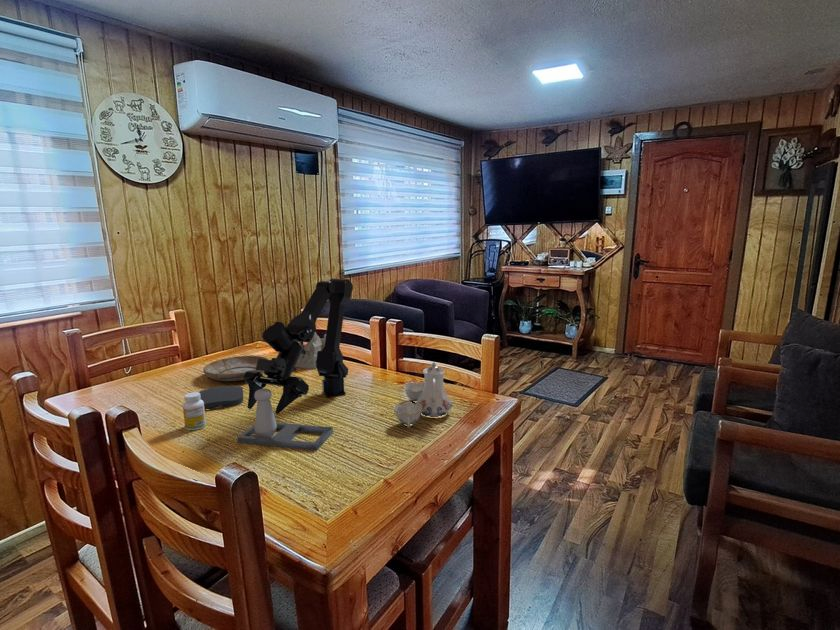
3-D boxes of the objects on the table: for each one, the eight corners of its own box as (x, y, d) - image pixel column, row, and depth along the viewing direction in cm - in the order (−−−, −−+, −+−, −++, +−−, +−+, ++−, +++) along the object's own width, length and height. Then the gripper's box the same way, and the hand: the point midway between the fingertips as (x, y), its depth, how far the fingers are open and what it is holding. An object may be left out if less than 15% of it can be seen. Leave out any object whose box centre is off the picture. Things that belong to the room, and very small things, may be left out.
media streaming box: (197, 396, 152) (196, 388, 151) (243, 391, 157) (243, 382, 156) (192, 413, 138) (191, 404, 138) (243, 406, 143) (242, 397, 143)
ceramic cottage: (342, 361, 188) (338, 327, 185) (309, 372, 176) (304, 335, 174) (321, 357, 199) (316, 324, 196) (288, 367, 187) (283, 332, 184)
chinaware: (402, 400, 151) (396, 352, 148) (451, 395, 150) (446, 347, 147) (394, 439, 123) (386, 381, 120) (455, 433, 122) (448, 375, 119)
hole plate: (237, 442, 118) (237, 437, 118) (259, 425, 128) (259, 420, 128) (316, 450, 114) (316, 445, 113) (332, 432, 124) (332, 427, 123)
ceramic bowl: (247, 363, 188) (246, 351, 187) (282, 373, 174) (281, 361, 173) (192, 378, 170) (190, 365, 169) (227, 391, 156) (226, 377, 155)
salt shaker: (270, 441, 119) (266, 394, 116) (250, 439, 120) (246, 393, 118) (281, 431, 125) (278, 387, 122) (262, 429, 126) (258, 385, 123)
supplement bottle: (190, 423, 130) (186, 391, 129) (209, 422, 131) (205, 390, 129) (182, 431, 125) (178, 398, 123) (202, 430, 126) (198, 397, 124)
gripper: (244, 342, 125) (217, 393, 117) (300, 348, 119) (275, 403, 111) (266, 362, 134) (241, 410, 126) (318, 369, 127) (296, 420, 119)
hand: (262, 411), depth 120 cm, fingers open, 9 cm apart
